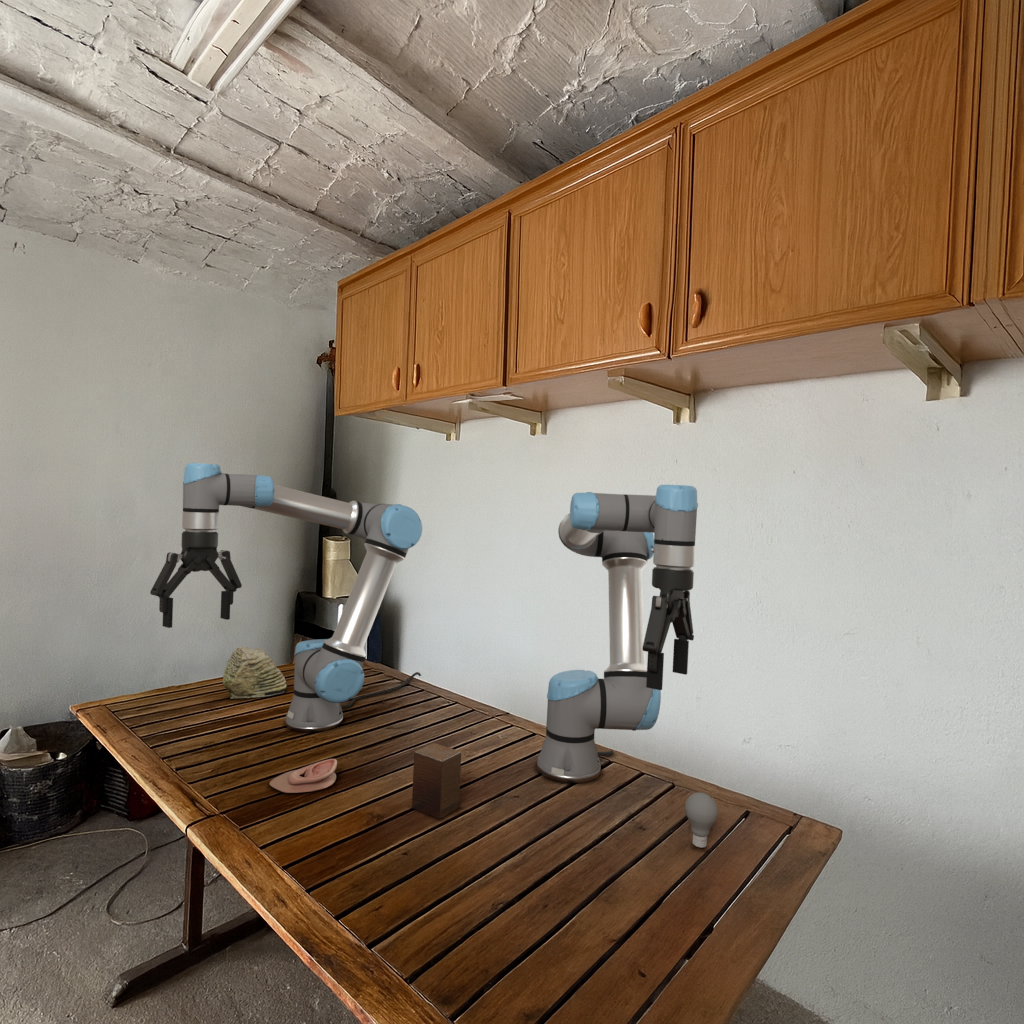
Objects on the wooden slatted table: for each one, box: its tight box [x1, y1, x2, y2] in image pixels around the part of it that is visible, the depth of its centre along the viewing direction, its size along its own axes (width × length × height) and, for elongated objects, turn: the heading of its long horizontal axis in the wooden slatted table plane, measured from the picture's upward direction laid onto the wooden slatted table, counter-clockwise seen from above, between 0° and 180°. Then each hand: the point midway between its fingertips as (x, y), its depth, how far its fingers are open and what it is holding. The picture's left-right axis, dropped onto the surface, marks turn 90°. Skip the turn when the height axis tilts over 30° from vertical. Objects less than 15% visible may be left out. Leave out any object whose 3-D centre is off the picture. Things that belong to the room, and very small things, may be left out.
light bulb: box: [684, 792, 719, 849], centre depth 120 cm, size 6×6×10 cm
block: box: [411, 742, 462, 820], centre depth 131 cm, size 6×8×12 cm
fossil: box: [222, 646, 288, 699], centre depth 198 cm, size 9×18×15 cm, turn 132°
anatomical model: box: [269, 758, 338, 794], centre depth 140 cm, size 13×4×12 cm
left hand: (197, 622), depth 146 cm, fingers open, 13 cm apart
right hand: (667, 680), depth 119 cm, fingers open, 13 cm apart
